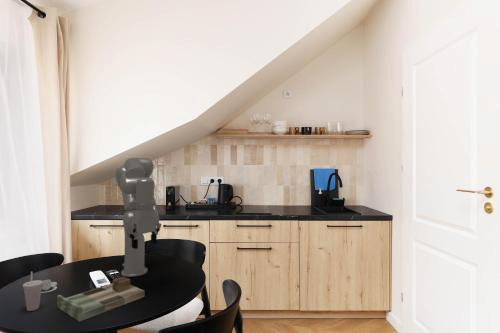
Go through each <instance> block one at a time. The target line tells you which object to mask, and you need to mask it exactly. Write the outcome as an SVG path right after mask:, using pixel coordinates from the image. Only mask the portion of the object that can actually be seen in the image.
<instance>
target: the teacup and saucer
mask: <svg viewBox="0 0 500 333" xmlns="http://www.w3.org/2000/svg"><path fill="white" fill-rule="evenodd" d="M42 281H43V285H42V290H43V291H41V294H45V293H51V292H53V291H55V290H57V289H58V287H57V285H58V283H57V282H56V281H52V280H51V279H45V280H42ZM50 289H51V290H50Z"/></svg>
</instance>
